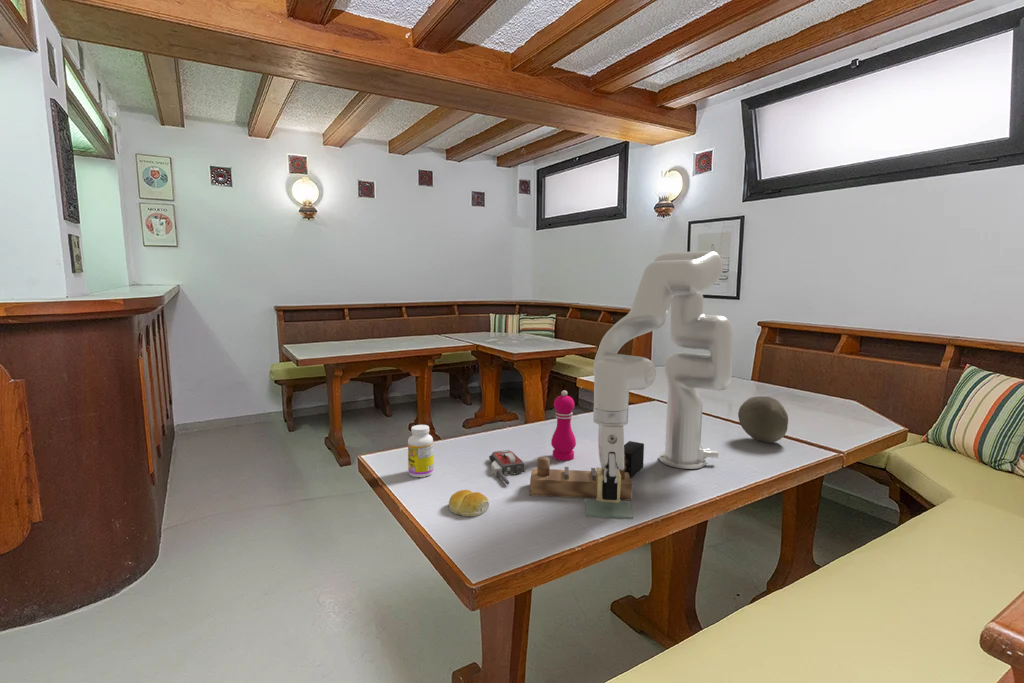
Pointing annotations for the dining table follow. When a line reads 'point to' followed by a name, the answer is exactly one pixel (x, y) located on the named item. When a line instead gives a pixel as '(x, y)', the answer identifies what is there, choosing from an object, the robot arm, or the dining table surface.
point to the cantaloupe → (763, 419)
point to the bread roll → (468, 503)
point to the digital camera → (633, 457)
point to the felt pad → (608, 509)
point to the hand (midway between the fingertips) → (608, 493)
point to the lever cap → (599, 485)
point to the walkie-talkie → (506, 464)
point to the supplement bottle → (420, 452)
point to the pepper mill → (563, 428)
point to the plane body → (571, 482)
